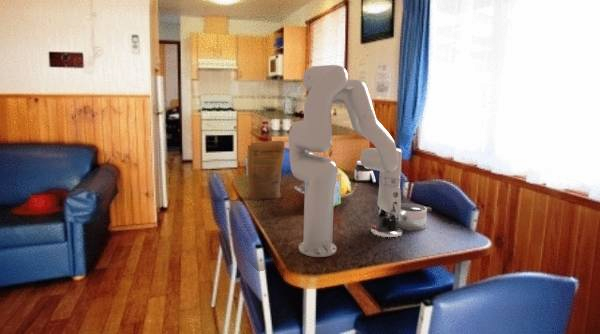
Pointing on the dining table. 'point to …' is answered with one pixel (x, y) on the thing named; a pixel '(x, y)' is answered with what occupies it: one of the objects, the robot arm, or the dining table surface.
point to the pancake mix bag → (264, 169)
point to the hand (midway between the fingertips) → (386, 227)
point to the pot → (412, 216)
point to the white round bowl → (385, 228)
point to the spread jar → (362, 173)
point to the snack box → (336, 192)
